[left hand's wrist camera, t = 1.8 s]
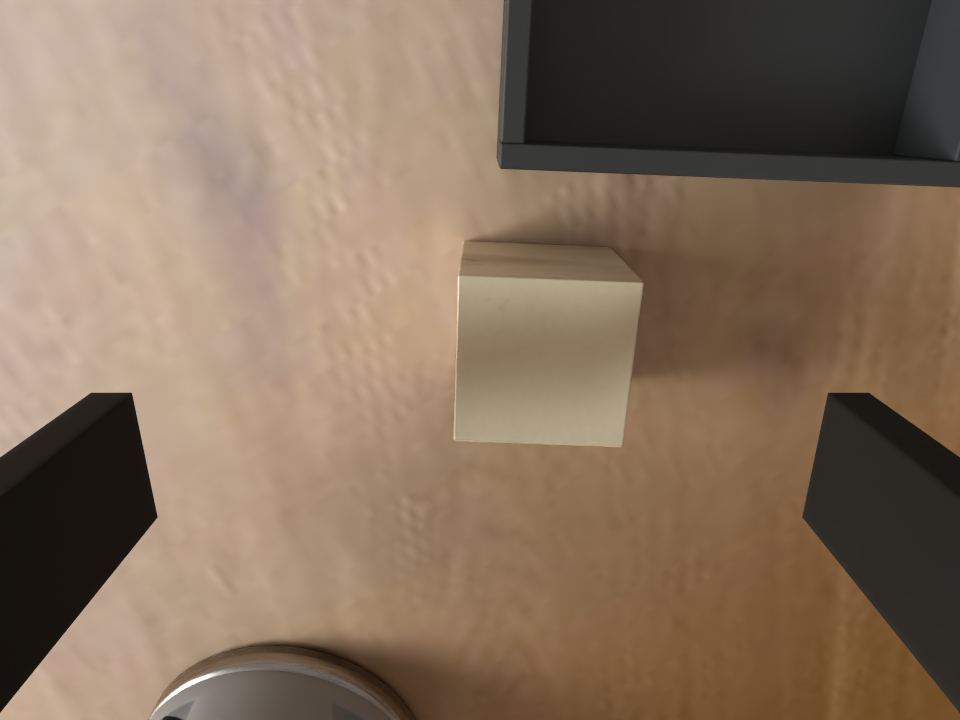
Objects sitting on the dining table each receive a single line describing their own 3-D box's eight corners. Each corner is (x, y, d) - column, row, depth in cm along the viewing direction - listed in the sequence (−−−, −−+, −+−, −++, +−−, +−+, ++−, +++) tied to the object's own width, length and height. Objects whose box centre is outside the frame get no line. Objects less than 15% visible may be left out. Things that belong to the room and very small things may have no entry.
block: (595, 382, 29) (623, 447, 23) (459, 377, 28) (453, 441, 23) (610, 246, 26) (644, 282, 21) (463, 240, 26) (458, 275, 21)
